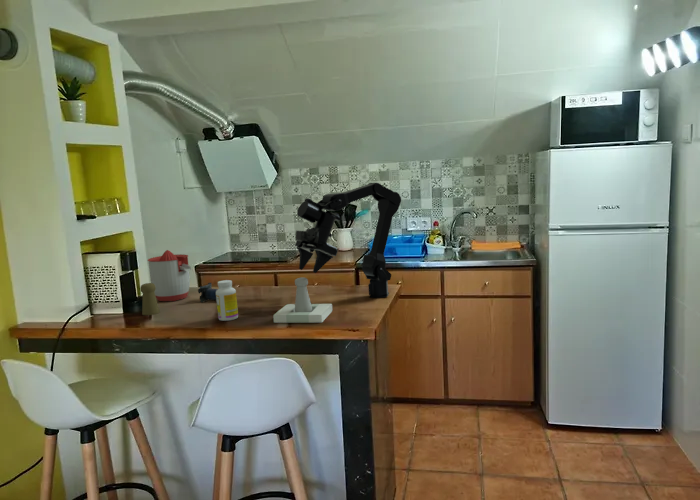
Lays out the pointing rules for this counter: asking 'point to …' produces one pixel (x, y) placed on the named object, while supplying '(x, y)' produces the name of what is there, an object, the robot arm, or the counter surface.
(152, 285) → the cork
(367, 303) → the counter surface
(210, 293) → the dark blue irregular lump
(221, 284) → the supplement bottle
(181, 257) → the citrus juicer
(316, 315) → the square frame holder
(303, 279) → the grey pestle
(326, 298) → the counter surface
